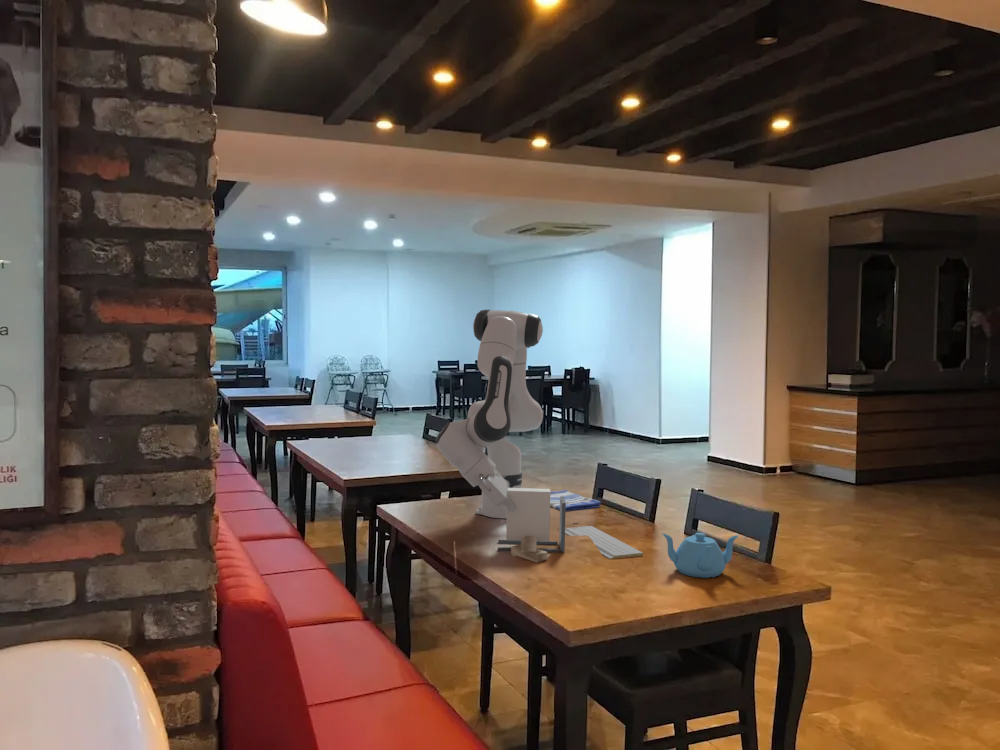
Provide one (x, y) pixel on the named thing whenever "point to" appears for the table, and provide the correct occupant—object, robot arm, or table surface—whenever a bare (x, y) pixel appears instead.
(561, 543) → the rack
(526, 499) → the off-white wooden block
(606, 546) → the baseboard molding
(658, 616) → the table surface
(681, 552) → the teapot
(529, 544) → the offcut top
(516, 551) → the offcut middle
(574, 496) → the dish towel
